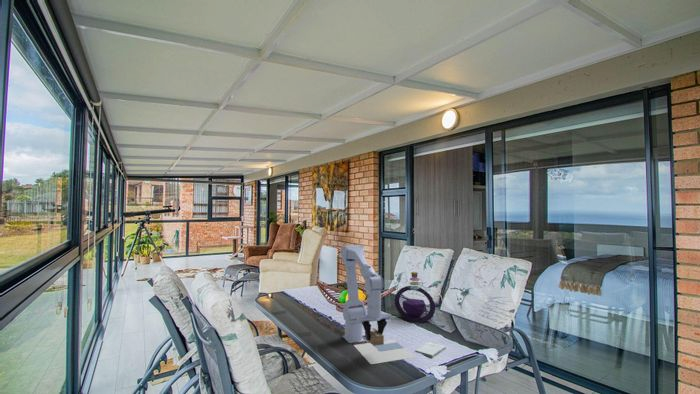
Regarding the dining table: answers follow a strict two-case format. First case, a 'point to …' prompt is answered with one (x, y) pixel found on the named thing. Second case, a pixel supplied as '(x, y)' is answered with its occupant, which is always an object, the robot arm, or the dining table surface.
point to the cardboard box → (375, 337)
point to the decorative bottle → (414, 303)
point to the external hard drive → (430, 349)
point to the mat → (383, 352)
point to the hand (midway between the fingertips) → (374, 338)
